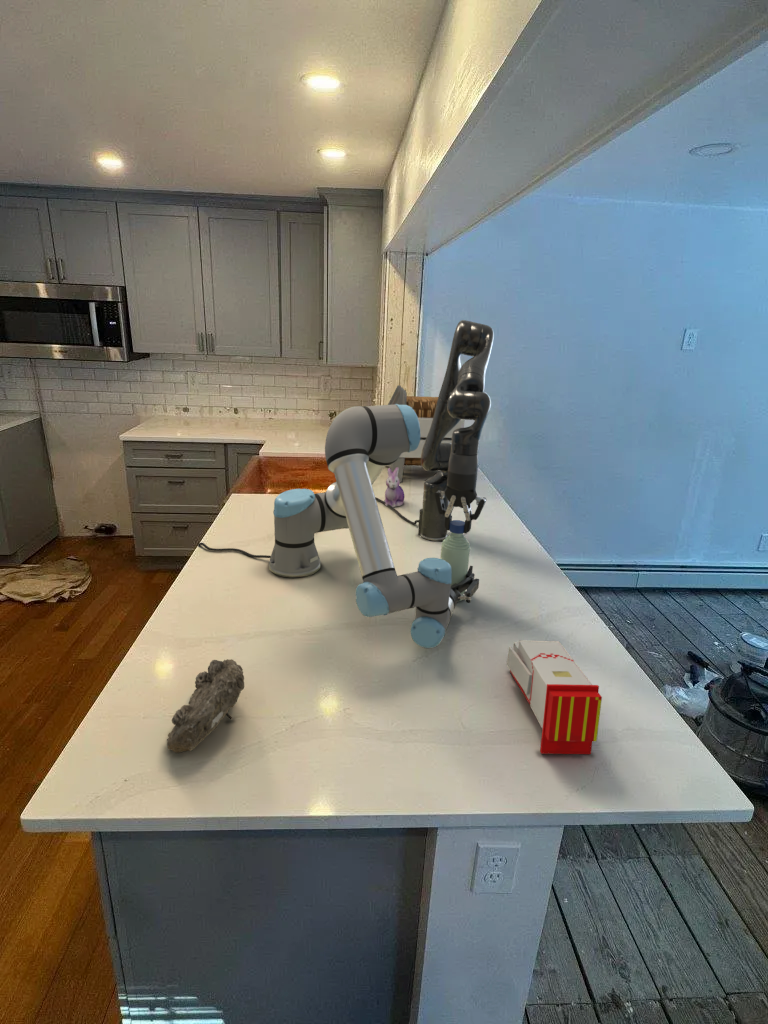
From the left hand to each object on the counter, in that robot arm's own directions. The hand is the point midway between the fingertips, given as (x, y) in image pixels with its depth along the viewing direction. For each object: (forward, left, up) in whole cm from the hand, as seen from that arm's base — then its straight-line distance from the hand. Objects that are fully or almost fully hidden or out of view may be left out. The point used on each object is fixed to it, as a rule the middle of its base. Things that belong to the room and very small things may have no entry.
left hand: (456, 567), depth 161 cm
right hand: (0, -5, +13) cm, 14 cm away
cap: (0, -5, +15) cm, 16 cm away
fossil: (-33, -71, -6) cm, 78 cm away
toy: (+27, -45, -6) cm, 52 cm away
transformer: (-38, +113, -6) cm, 119 cm away
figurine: (-37, +63, -6) cm, 74 cm away
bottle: (0, -5, -6) cm, 8 cm away
